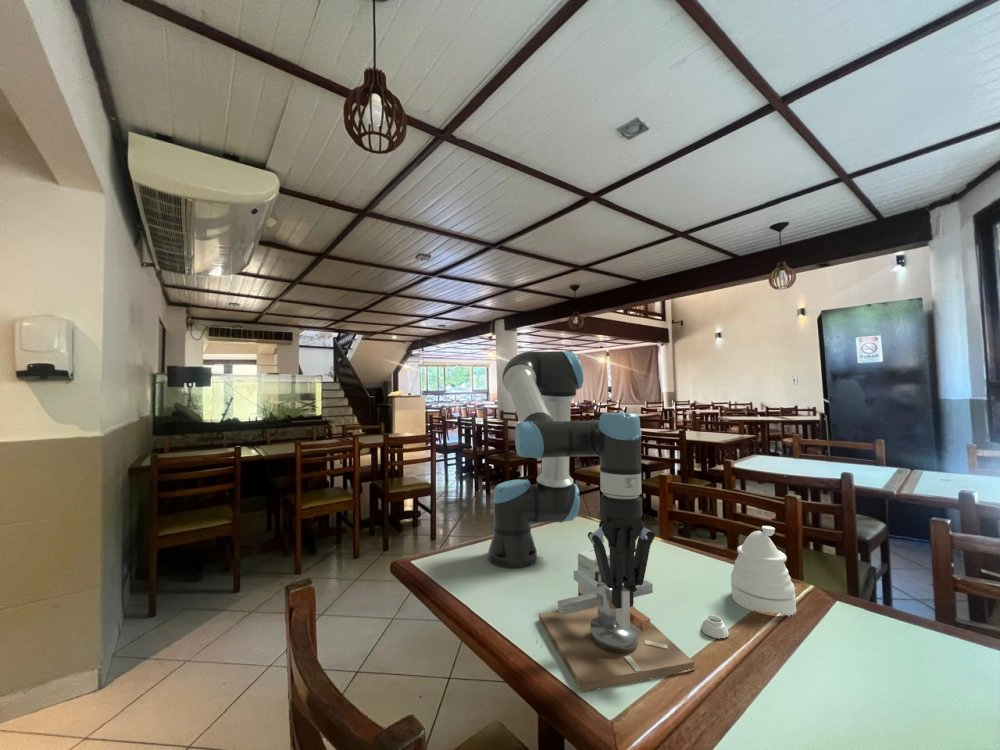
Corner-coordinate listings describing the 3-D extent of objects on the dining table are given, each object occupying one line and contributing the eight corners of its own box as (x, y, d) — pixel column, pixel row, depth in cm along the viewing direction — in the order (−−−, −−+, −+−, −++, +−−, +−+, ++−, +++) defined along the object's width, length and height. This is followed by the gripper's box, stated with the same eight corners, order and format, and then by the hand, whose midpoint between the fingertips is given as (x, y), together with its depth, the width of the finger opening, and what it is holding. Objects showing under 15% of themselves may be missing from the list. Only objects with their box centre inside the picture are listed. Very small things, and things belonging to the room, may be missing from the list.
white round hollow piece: (712, 624, 84) (696, 630, 82) (711, 610, 85) (695, 615, 83) (734, 637, 80) (717, 643, 78) (733, 622, 80) (716, 627, 78)
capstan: (534, 617, 84) (534, 573, 85) (616, 597, 92) (615, 557, 93) (595, 685, 64) (594, 627, 64) (694, 651, 72) (691, 601, 73)
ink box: (592, 612, 90) (591, 559, 90) (577, 603, 94) (576, 552, 95) (617, 601, 94) (616, 551, 95) (601, 593, 98) (600, 545, 99)
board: (539, 620, 86) (539, 612, 86) (628, 607, 91) (627, 600, 91) (581, 692, 65) (580, 681, 65) (694, 670, 70) (693, 660, 70)
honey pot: (799, 601, 93) (794, 525, 95) (792, 623, 84) (787, 538, 85) (738, 584, 102) (734, 514, 103) (725, 603, 93) (722, 526, 94)
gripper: (598, 500, 68) (600, 641, 66) (663, 497, 71) (666, 632, 69) (580, 491, 76) (582, 617, 74) (640, 488, 78) (642, 610, 76)
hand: (623, 624), depth 71 cm, fingers closed
